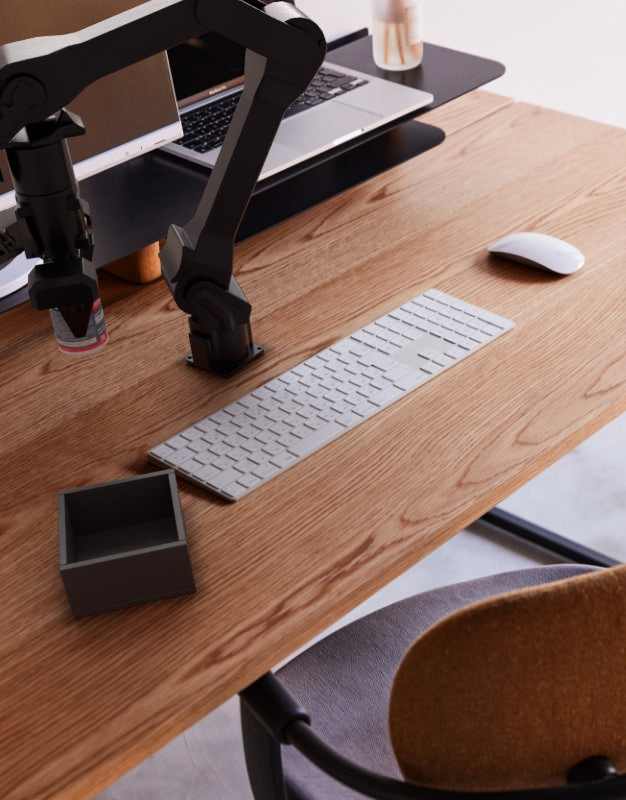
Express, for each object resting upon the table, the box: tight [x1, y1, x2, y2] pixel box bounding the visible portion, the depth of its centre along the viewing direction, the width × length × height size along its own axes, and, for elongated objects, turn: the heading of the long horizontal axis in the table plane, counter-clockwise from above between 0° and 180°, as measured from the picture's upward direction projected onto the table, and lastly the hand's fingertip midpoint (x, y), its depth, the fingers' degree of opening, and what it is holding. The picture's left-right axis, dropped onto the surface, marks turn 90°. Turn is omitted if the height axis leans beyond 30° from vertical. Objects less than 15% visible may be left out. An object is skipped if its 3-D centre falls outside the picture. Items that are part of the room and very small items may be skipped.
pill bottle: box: [48, 297, 110, 357], centre depth 110 cm, size 5×5×9 cm
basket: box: [56, 468, 197, 620], centre depth 92 cm, size 10×10×6 cm
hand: (79, 323), depth 111 cm, fingers closed on pill bottle, 5 cm apart
